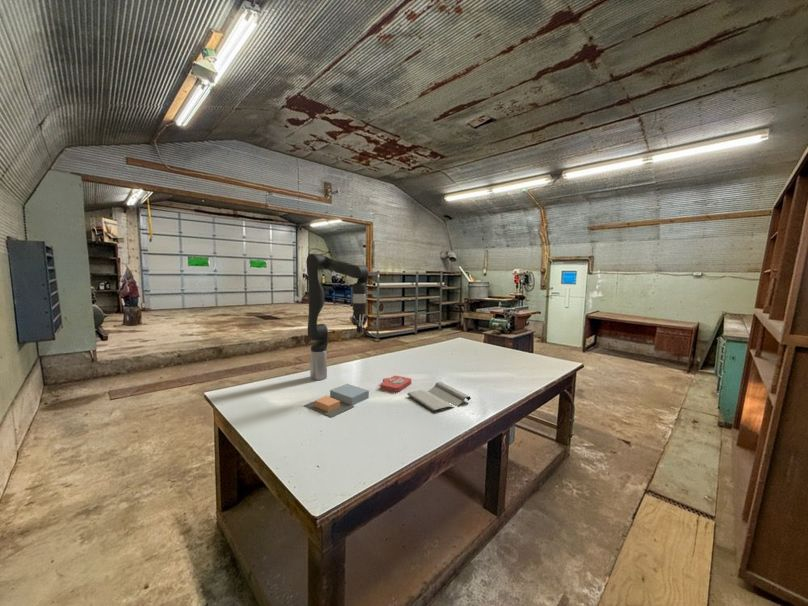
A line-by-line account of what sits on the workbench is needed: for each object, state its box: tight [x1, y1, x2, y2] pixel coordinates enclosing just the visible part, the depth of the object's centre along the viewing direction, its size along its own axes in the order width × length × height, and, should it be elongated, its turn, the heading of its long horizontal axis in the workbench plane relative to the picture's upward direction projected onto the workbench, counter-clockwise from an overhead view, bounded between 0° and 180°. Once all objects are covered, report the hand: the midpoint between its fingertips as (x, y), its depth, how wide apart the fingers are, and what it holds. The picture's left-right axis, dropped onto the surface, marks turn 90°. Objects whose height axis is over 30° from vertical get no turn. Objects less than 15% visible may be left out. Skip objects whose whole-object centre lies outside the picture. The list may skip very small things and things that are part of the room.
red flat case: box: [379, 375, 412, 394], centre depth 182 cm, size 18×4×15 cm
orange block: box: [314, 395, 340, 412], centre depth 152 cm, size 10×7×3 cm
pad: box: [303, 400, 355, 418], centre depth 153 cm, size 20×14×1 cm
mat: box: [406, 381, 471, 413], centre depth 162 cm, size 23×24×5 cm
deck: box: [329, 383, 370, 406], centre depth 163 cm, size 16×12×4 cm
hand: (359, 332), depth 176 cm, fingers closed
